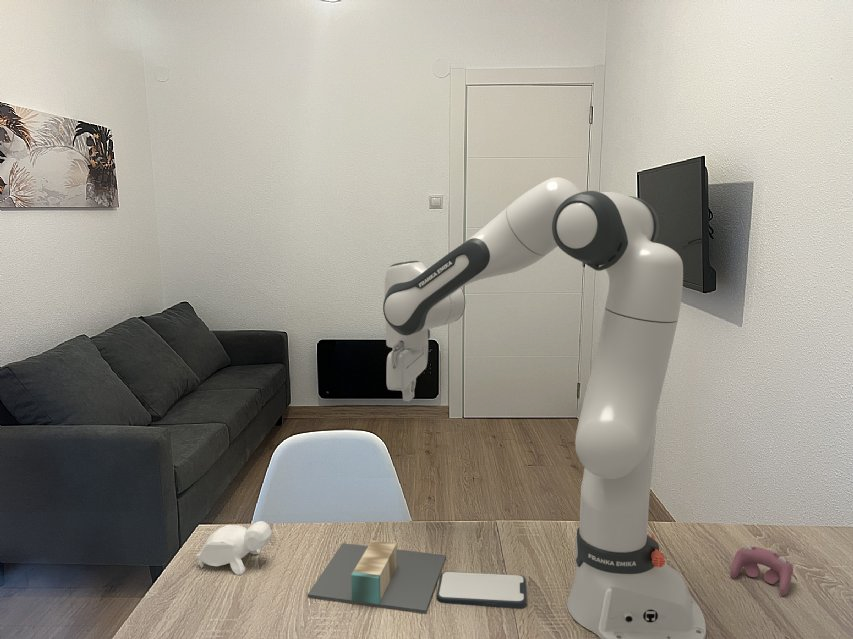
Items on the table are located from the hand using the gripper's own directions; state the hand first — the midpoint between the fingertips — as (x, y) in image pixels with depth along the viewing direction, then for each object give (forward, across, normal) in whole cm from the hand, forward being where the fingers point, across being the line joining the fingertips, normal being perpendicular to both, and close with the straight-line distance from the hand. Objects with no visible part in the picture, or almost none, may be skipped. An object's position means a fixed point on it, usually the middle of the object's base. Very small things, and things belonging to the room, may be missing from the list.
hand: (408, 399), depth 137 cm
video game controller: (+30, -8, -69) cm, 76 cm away
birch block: (+25, -19, 0) cm, 32 cm away
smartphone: (+30, -22, -19) cm, 42 cm away
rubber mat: (+28, -22, 0) cm, 36 cm away
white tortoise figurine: (+28, -24, +30) cm, 47 cm away
